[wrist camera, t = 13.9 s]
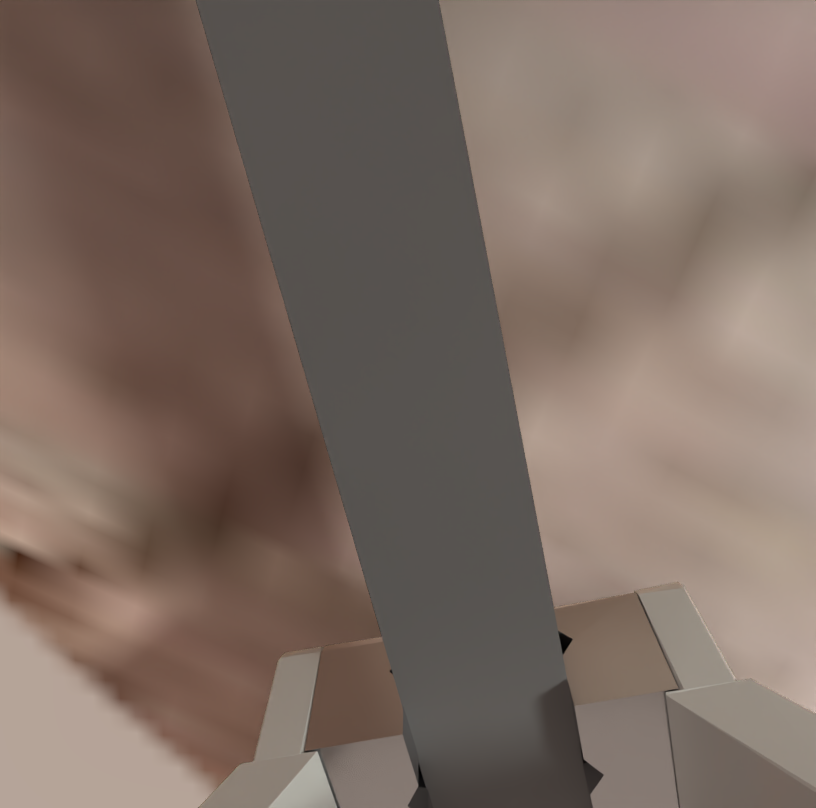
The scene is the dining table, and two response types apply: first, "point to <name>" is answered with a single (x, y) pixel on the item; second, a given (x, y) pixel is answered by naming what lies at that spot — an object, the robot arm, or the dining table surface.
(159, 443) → the dining table surface
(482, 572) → the hoe scraper
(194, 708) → the dining table surface
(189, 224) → the dining table surface
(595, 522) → the dining table surface
